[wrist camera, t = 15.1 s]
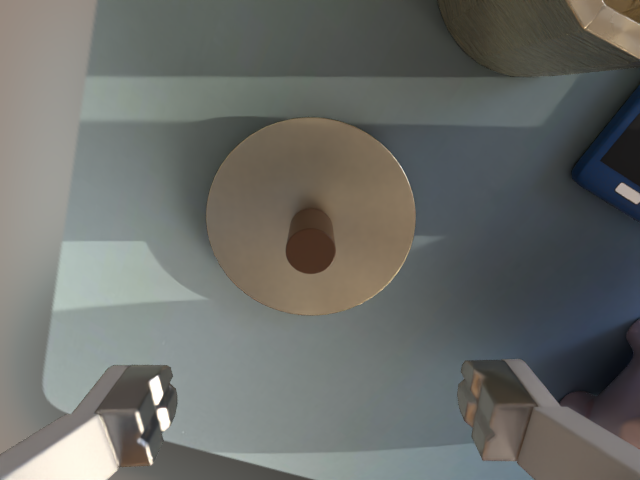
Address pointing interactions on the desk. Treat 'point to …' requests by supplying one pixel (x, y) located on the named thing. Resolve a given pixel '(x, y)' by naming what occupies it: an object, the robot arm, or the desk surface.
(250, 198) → the tin lid
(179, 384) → the desk surface
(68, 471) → the robot arm
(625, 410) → the piggy bank
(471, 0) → the tin
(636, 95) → the cell phone
